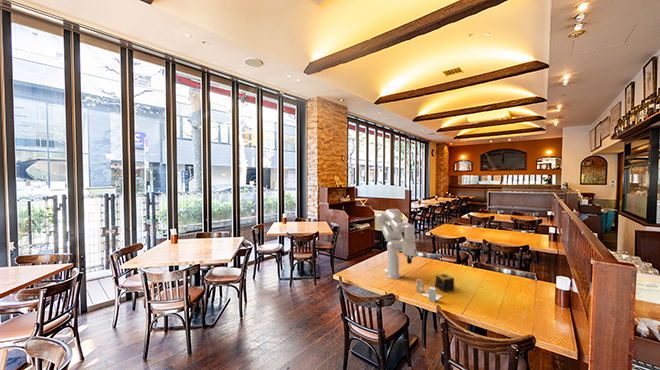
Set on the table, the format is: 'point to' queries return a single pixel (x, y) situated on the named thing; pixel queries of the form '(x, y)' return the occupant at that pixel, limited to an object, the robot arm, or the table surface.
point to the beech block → (419, 285)
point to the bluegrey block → (432, 294)
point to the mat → (428, 295)
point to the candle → (444, 282)
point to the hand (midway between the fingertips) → (409, 263)
